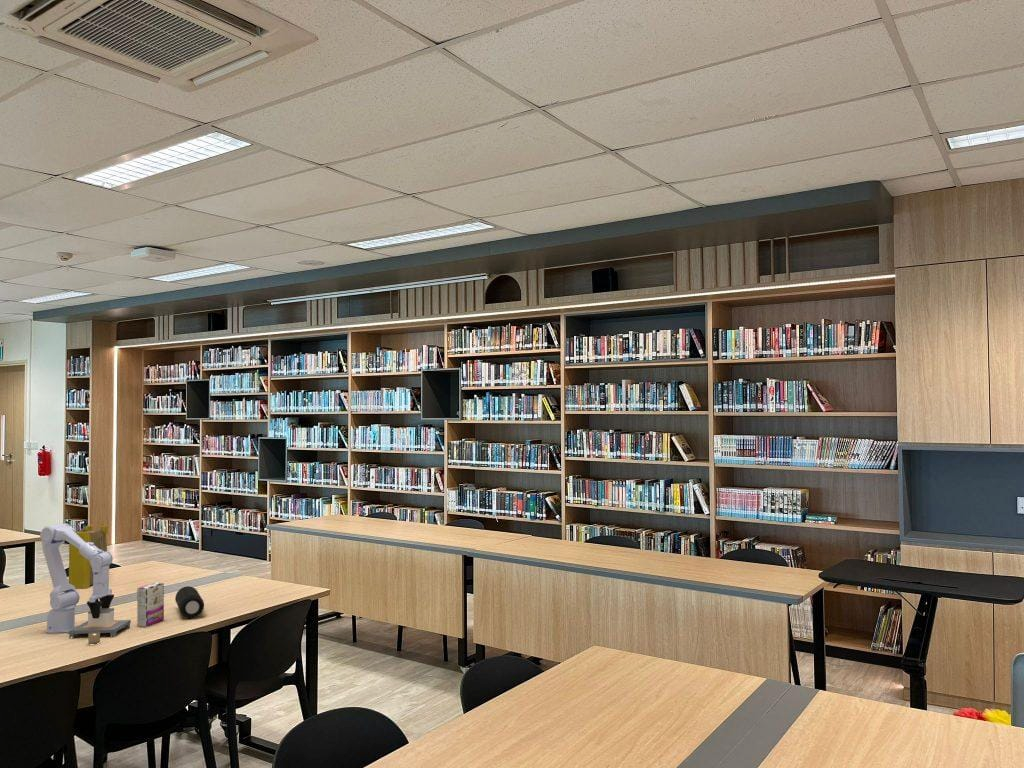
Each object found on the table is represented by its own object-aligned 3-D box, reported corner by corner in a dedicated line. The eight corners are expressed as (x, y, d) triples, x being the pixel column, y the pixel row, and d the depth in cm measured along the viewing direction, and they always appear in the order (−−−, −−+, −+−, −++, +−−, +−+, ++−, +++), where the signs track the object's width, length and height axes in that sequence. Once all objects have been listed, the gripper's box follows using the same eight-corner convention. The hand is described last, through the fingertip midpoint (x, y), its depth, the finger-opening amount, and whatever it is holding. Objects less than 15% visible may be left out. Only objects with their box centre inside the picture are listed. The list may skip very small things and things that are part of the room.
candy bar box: (154, 619, 320) (154, 581, 321) (164, 620, 319) (164, 582, 320) (136, 626, 309) (136, 587, 310) (146, 627, 308) (147, 588, 309)
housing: (107, 625, 299) (108, 611, 299) (87, 626, 299) (88, 611, 299) (113, 622, 304) (114, 607, 304) (94, 623, 304) (94, 608, 304)
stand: (68, 638, 294) (68, 630, 294) (86, 628, 308) (86, 620, 308) (114, 637, 295) (114, 628, 295) (130, 627, 309) (130, 619, 309)
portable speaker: (174, 608, 339) (174, 586, 340) (197, 605, 344) (197, 583, 345) (180, 621, 317) (180, 598, 318) (204, 618, 322) (205, 595, 323)
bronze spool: (86, 645, 284) (86, 635, 285) (91, 642, 288) (91, 632, 289) (96, 645, 285) (96, 634, 285) (102, 641, 289) (102, 631, 289)
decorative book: (87, 588, 381) (88, 530, 382) (66, 588, 381) (67, 530, 382) (108, 580, 401) (109, 524, 402) (88, 580, 401) (89, 525, 402)
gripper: (102, 586, 295) (101, 620, 294) (119, 578, 310) (118, 610, 309) (84, 586, 295) (83, 620, 294) (102, 578, 309) (101, 611, 309)
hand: (100, 615), depth 301 cm, fingers open, 7 cm apart
